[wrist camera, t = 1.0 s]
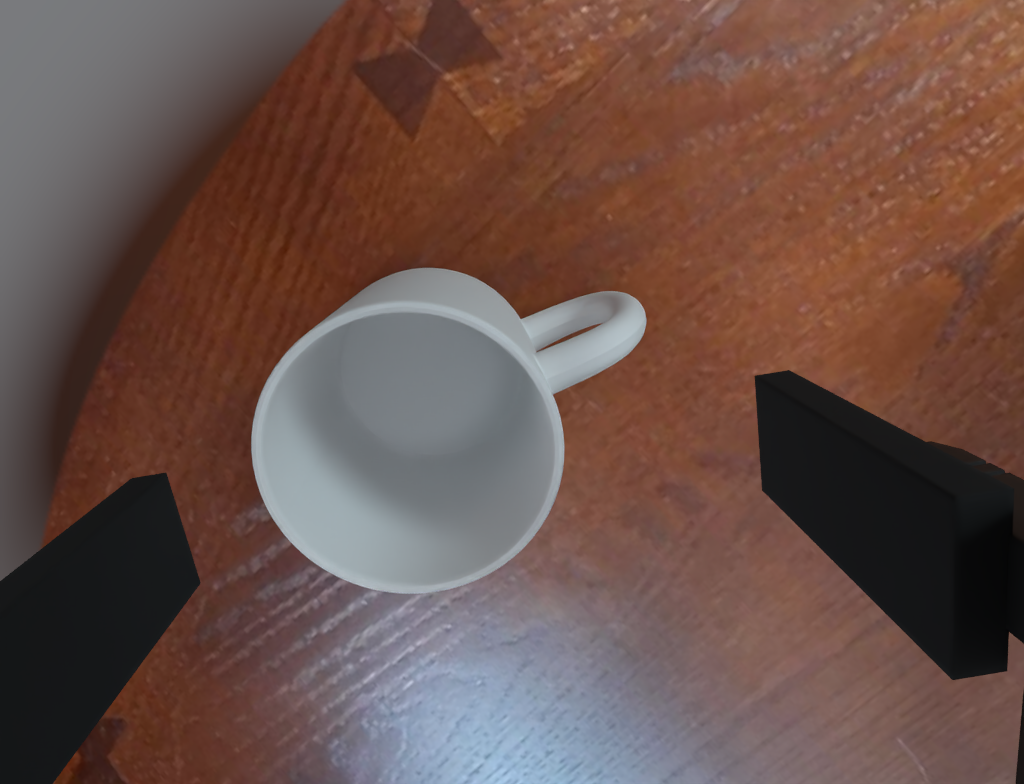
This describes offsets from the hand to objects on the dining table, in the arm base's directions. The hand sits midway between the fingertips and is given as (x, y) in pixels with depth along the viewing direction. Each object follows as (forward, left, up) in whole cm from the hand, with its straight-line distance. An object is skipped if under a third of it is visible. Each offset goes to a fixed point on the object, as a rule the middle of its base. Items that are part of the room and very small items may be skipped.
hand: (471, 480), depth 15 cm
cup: (0, 0, -13) cm, 13 cm away
